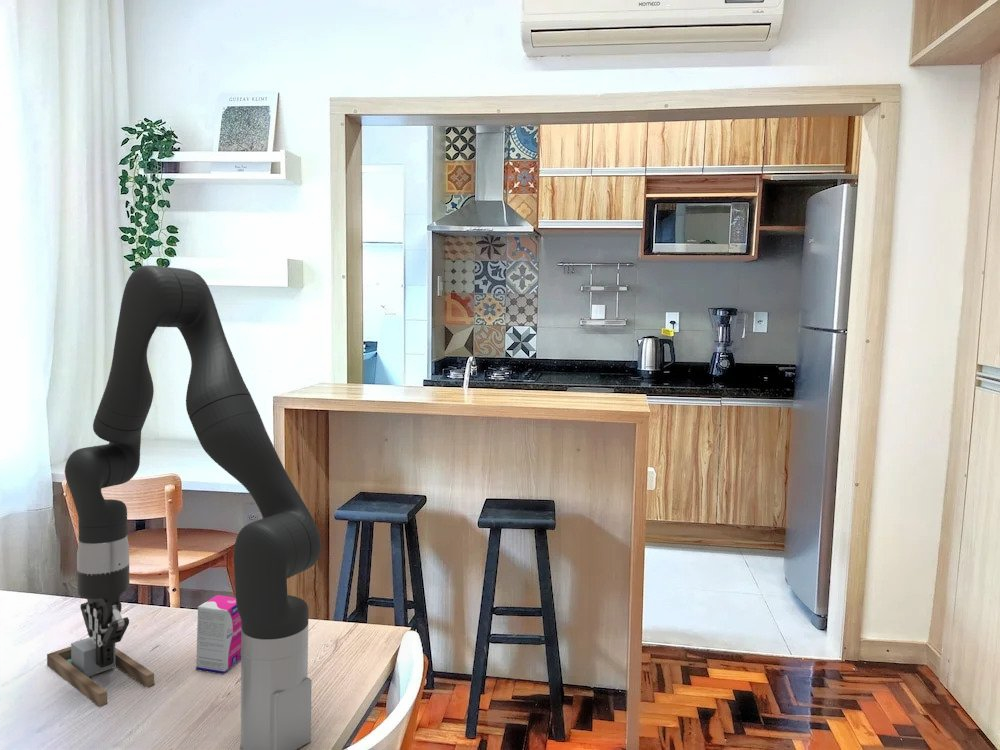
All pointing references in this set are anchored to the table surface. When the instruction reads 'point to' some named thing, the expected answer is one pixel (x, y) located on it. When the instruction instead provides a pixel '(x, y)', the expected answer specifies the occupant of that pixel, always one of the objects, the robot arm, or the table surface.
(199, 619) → the supplement box
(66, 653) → the wooden u-shaped frame
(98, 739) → the table surface
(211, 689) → the table surface
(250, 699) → the robot arm
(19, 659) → the table surface
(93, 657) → the block
